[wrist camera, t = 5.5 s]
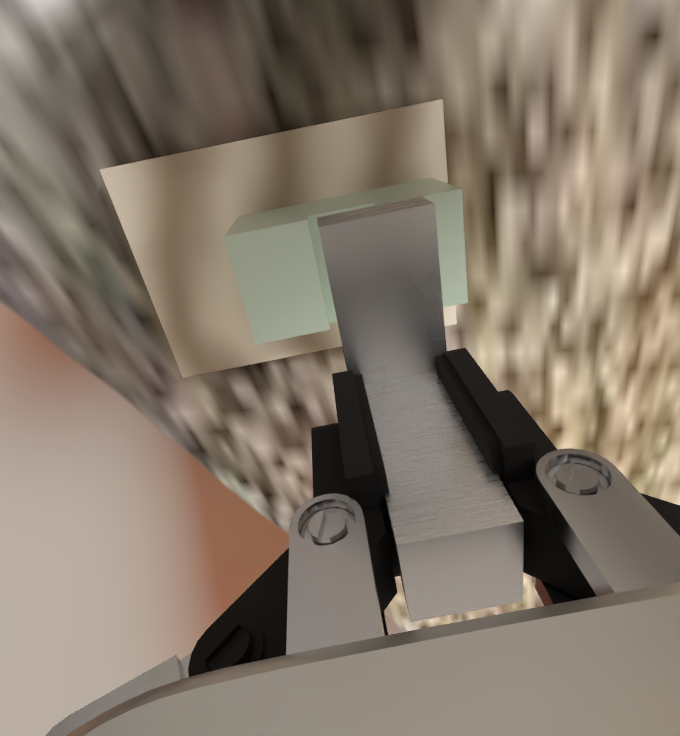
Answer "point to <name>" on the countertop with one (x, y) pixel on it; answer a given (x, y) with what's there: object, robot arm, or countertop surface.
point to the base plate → (247, 196)
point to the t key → (420, 413)
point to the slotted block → (307, 263)
